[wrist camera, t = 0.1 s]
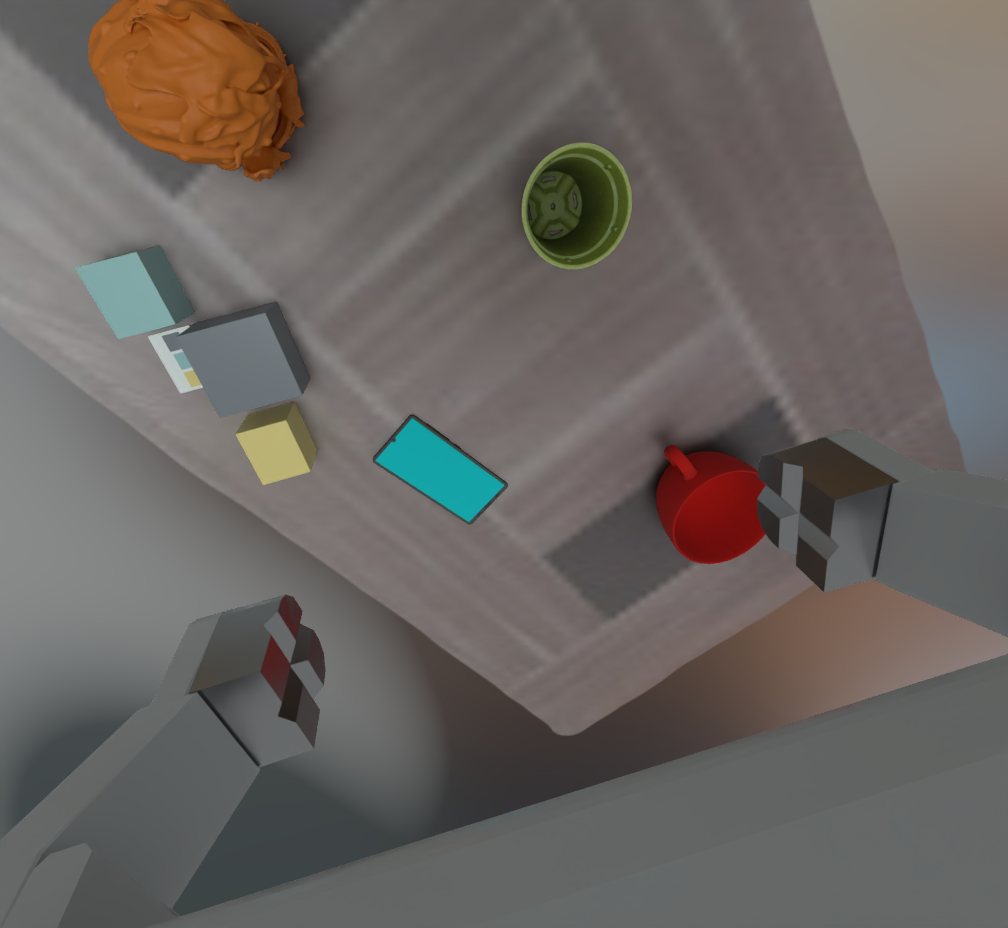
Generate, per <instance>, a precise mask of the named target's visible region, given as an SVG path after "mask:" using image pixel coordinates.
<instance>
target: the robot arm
mask: <svg viewBox="0 0 1008 928" xmlns="http://www.w3.org/2000/svg"><path fill="white" fill-rule="evenodd" d="M758 478H759V479H760V480H761V481H762V482H763V483H764V484H765V485H766V486H765V487H764V489H763V490H762V492H761V493H760V495H759V496H758V498H757V515H758V518H759V521H760V523H761V526H762V529H763V531H764V532H765V534H766V535H767V537H768V538H769V540H770V541H771V542H772V543H773V544H774V545H775V546H776V547H777V548H778V549H780V550H783V551H786V552H789V553H792V554H795V555H796V566H797V567H798V568H799V569H800V570H801V571H802V572H803V573H804V574H805V575H806V576H807V577H808V578H809V579H810V580H811V581H812V582H814V583H815V584H816V585H817V586H818V587H819V588H820V589H821V590H822V591H823V592H828V591H831V590H835V589H838V588H842V587H846V586H849V585H853V584H857V583H860V582H864V581H868V580H871V579H875V578H876V579H875V581H876V582H879V583H881V584H884V585H886V586H888V587H890V588H893V589H895V590H898V591H900V592H902V593H905V594H907V595H909V596H912V597H914V598H916V599H919V600H921V601H924V602H926V603H928V604H931V605H933V606H936V607H938V608H940V609H942V610H945V611H947V612H950V613H952V614H954V615H957V616H959V617H961V618H964V619H966V620H968V621H971V622H973V623H976V624H978V625H980V626H983V627H985V628H987V629H990V630H992V631H994V632H997V633H999V634H1002V635H1004V636H1007V637H1008V480H1004V479H997V478H992V477H986V476H980V475H974V474H968V473H962V472H956V471H950V470H945V469H943V470H939V471H936V472H933V471H931V470H929V469H928V468H926V467H924V466H922V465H920V464H918V463H916V462H915V461H913V460H911V459H909V458H907V457H905V456H903V455H902V454H900V453H898V452H896V451H894V450H892V449H890V448H889V447H887V446H885V445H883V444H881V443H879V442H877V441H876V440H874V439H872V438H870V437H868V436H866V435H864V434H863V433H861V432H859V431H857V430H849V429H845V430H842V431H839V432H836V433H833V434H830V435H826V436H823V437H820V438H818V439H817V440H814V441H811V442H807V443H804V444H801V445H797V446H794V447H790V448H787V449H784V450H780V451H777V452H774V453H770V454H767V455H764V456H762V457H761V459H760V462H759V464H758ZM301 616H302V610H301V608H300V607H299V605H298V603H297V602H296V601H295V599H294V597H291V596H289V595H283V596H279V597H276V598H272V599H268V600H264V601H261V602H257V603H253V604H250V605H246V606H242V607H238V608H235V609H231V610H228V611H226V612H221V613H217V614H214V615H210V616H207V617H203V618H200V619H197V620H196V621H194V622H193V623H191V624H190V625H189V626H188V628H187V630H186V632H185V634H184V636H183V638H182V640H181V642H180V644H179V647H178V649H177V651H176V653H175V655H174V657H173V660H172V661H171V663H170V665H169V667H168V670H167V671H166V674H165V676H164V678H163V680H162V682H161V684H160V686H159V688H158V690H157V692H156V694H155V696H154V699H153V701H152V703H151V705H150V706H149V707H145V708H142V709H139V710H138V711H137V712H136V713H135V714H134V715H133V716H132V717H131V718H130V719H129V720H128V721H126V722H125V723H124V724H123V725H122V726H121V727H120V728H119V729H118V730H117V731H116V732H115V733H114V734H113V735H112V736H111V737H109V738H108V739H107V740H106V741H105V742H104V743H103V744H102V745H101V746H100V747H99V748H98V749H97V750H96V751H95V752H94V753H92V754H91V755H90V756H89V757H88V758H87V759H86V760H85V761H84V762H83V763H82V764H81V765H80V766H79V767H78V768H77V769H76V770H74V771H73V772H72V773H71V774H70V775H69V776H68V777H67V778H66V779H65V780H64V781H63V782H62V783H61V784H60V785H59V786H57V788H55V789H54V790H53V791H52V792H51V793H50V794H49V795H48V796H47V797H46V798H45V799H44V800H43V801H42V802H40V804H39V805H37V806H36V807H35V808H34V809H33V810H32V811H31V812H30V813H29V814H28V815H27V816H26V817H25V818H24V819H23V820H21V822H20V823H18V824H17V825H16V826H15V827H14V828H13V829H12V830H11V831H10V832H9V833H8V834H7V835H6V836H4V837H3V838H2V839H1V840H0V928H1008V654H1007V655H1004V656H1000V657H997V658H994V659H991V660H988V661H985V662H981V663H978V664H975V665H972V666H969V667H966V668H963V669H960V670H956V671H953V672H950V673H947V674H944V675H940V676H937V677H934V678H931V679H928V680H925V681H922V682H918V683H916V684H912V685H909V686H906V687H903V688H900V689H897V690H894V691H890V692H887V693H884V694H881V695H878V696H875V697H871V698H868V699H865V700H862V701H859V702H856V703H853V704H849V705H846V706H843V707H840V708H837V709H834V710H831V711H827V712H824V713H821V714H818V715H815V716H812V717H809V718H806V719H802V720H799V721H796V722H793V723H790V724H787V725H784V726H781V727H777V728H774V729H771V730H768V731H765V732H762V733H759V734H755V735H753V736H749V737H746V738H743V739H740V740H737V741H733V742H730V743H727V744H724V745H721V746H718V747H715V748H712V749H708V750H705V751H702V752H699V753H696V754H693V755H690V756H686V757H683V758H680V759H677V760H674V761H671V762H668V763H664V764H661V765H658V766H655V767H652V768H649V769H645V770H642V771H639V772H636V773H633V774H629V775H626V776H623V777H620V778H617V779H614V780H610V781H608V782H604V783H601V784H598V785H595V786H591V787H588V788H585V789H582V790H579V791H576V792H573V793H570V794H566V795H563V796H560V797H557V798H554V799H550V800H548V801H544V802H541V803H538V804H535V805H532V806H529V807H525V808H522V809H519V810H516V811H512V812H509V813H506V814H503V815H500V816H497V817H494V818H490V819H487V820H484V821H481V822H478V823H474V824H472V825H468V826H465V827H462V828H459V829H456V830H453V831H450V832H446V833H443V834H440V835H437V836H434V837H430V838H427V839H424V840H421V841H418V842H415V843H411V844H408V845H405V846H402V847H399V848H396V849H393V850H390V851H386V852H383V853H380V854H377V855H374V856H370V857H367V858H364V859H361V860H358V861H355V862H352V863H348V864H345V865H342V866H340V867H336V868H333V869H329V870H327V871H323V872H320V873H317V874H314V875H311V876H308V877H305V878H301V879H298V880H295V881H292V882H288V883H286V884H282V885H279V886H276V887H273V888H270V889H267V890H263V891H260V892H257V893H254V894H251V895H248V896H245V897H241V898H238V899H235V900H232V901H229V902H225V903H222V904H219V905H216V906H213V907H210V908H207V909H203V910H200V911H197V912H194V913H191V914H188V915H184V916H182V917H181V916H179V915H178V914H177V913H175V912H174V911H172V907H173V906H174V904H175V903H176V901H177V899H178V898H179V896H180V895H181V893H182V892H183V890H184V889H185V887H186V885H187V884H188V882H189V881H190V879H191V878H192V876H193V874H194V873H195V871H196V870H197V868H198V867H199V865H200V863H201V862H202V860H203V859H204V857H205V856H206V854H207V853H208V851H209V849H210V848H211V846H212V845H213V843H214V841H215V840H216V838H217V837H218V835H219V834H220V832H221V831H222V829H223V828H224V826H225V824H226V823H227V821H228V820H229V818H230V816H231V815H232V813H233V812H234V810H235V809H236V807H237V806H238V804H239V802H240V801H241V799H242V798H243V796H244V794H245V793H246V791H247V790H248V788H249V787H250V785H251V784H252V782H253V781H254V779H255V777H256V776H257V774H258V773H259V771H260V769H259V768H258V767H261V766H264V765H267V764H270V763H273V762H276V761H279V760H282V759H285V758H288V757H291V756H294V755H297V754H300V753H303V752H306V751H309V750H312V749H314V745H315V739H316V732H317V725H318V720H319V713H320V709H319V708H318V706H317V705H316V703H315V702H314V700H313V699H314V698H315V697H316V695H317V694H318V693H319V691H320V690H321V689H322V687H323V686H324V678H325V662H324V653H323V650H322V647H321V644H320V641H319V639H318V637H317V635H316V634H315V632H314V630H312V629H310V628H308V627H306V626H304V625H302V624H300V620H301Z"/></svg>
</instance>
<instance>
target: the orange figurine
mask: <svg viewBox="0 0 1008 928" xmlns="http://www.w3.org/2000/svg"><path fill="white" fill-rule="evenodd" d="M259 40H260V41H261V42H263V43H264V44H266V45H267V46H268V48H269V49H270V50H271V52H272V53H271V52H270V51H269V49H268V48H267V47H265V46H264V45H263V44H262V43H260V42H259ZM267 54H268V56H267ZM88 55H89V62H90V66H91V68H92V70H93V72H94V74H95V76H96V78H97V79H98V81H99V83H100V84H101V86H102V88H103V90H104V92H105V94H106V103H107V105H108V107H109V108H110V110H111V111H113V112H114V113H115V115H116V118H117V120H118V122H119V123H120V125H121V126H122V127H123V128H124V130H125V131H127V132H128V133H129V134H130V135H131V136H133V137H134V138H136V139H137V140H139V141H140V142H142V143H143V144H145V145H146V146H148V147H150V148H152V149H155V150H157V151H161V152H164V153H168V154H172V155H174V156H175V157H177V158H178V159H180V160H182V161H185V162H191V163H199V164H216V165H217V166H218V167H220V168H222V169H225V170H228V171H232V170H236V169H237V168H240V166H241V164H242V166H243V167H244V175H245V176H246V177H250V178H251V179H253V180H255V181H257V182H258V181H261V180H262V179H263V178H268V179H271V177H272V175H274V174H275V172H276V170H277V169H280V168H282V169H284V165H283V164H282V163H280V162H284V161H285V160H287V159H290V158H291V156H290V153H289V152H281V151H280V150H279V149H280V148H281V147H282V145H283V144H284V145H285V142H287V141H288V140H289V139H290V137H291V135H292V133H293V132H294V130H295V127H299V128H302V127H304V126H305V125H304V123H303V122H302V121H301V120H299V118H300V117H302V116H303V115H304V112H303V110H302V107H301V101H300V98H299V96H298V93H297V91H298V80H297V77H296V75H295V72H294V65H293V64H291V65H289V66H287V65H286V61H285V58H284V57H285V56H286V55H287V54H283V52H282V50H281V48H280V46H279V44H278V43H277V39H275V38H274V37H273V36H272V35H271V34H270V33H269V32H267V31H266V30H264V29H263V28H261V27H260V26H258V22H257V23H256V24H253V23H250V22H246V21H243V20H242V19H241V18H240V17H238V16H237V15H236V14H235V13H234V12H233V11H232V10H231V8H230V6H229V5H228V4H227V3H225V2H224V1H222V0H119V1H118V2H117V3H116V4H114V5H113V6H112V8H111V9H110V10H109V11H108V12H107V13H106V14H105V15H104V16H103V17H102V18H101V19H100V20H99V21H98V22H97V23H96V24H95V26H94V27H93V28H92V31H91V34H90V37H89V52H88ZM277 67H278V68H277Z"/></svg>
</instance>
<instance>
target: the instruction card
mask: <svg viewBox="0 0 1008 928" xmlns="http://www.w3.org/2000/svg"><path fill="white" fill-rule="evenodd" d="M189 327H190V325H187V326H184V327H180V328H176V329H172V330H169V331H165V332H161V333H157V334H154V335H150V336H148V338H149V340H150V341H151V343H152V345H153V347H154V348H155V350H156V352H157V354H158V355H159V357H160V359H161V361H162V362H163V364H164V366H165V367H166V369H167V371H168V373H169V374H170V376H171V378H172V380H173V381H174V383H175V385H176V386H177V388H178V390H179V392H180V393H185V392H188V391H192V390H196V389H199V388H203V386H202V385H201V383H200V381H199V379H198V377H197V375H196V374H195V372H194V370H193V368H192V366H191V365H190V363H189V361H188V359H187V357H186V356H185V354H184V352H183V350H182V348H181V346H180V345H179V343H178V341H177V339H176V336H177V335H179V334H180V333H182V332H183V331H185V330H186V329H188V328H189Z"/></svg>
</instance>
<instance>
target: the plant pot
mask: <svg viewBox="0 0 1008 928" xmlns="http://www.w3.org/2000/svg"><path fill="white" fill-rule="evenodd" d="M551 176H552V177H555V180H554V181H547V182H545V183H542V182H541V181H542V179H543V178H545V177H551ZM573 193H575V194H576V198H577V202H578V205H577V208H576V209H575V208H574V198H573ZM551 204H555V209H553V210H552V209H551ZM527 205H529V206H530V214H531V218H532V219H531V220H530V219H529V218H528V215H527ZM631 210H632V193H631V187H630V183H629V180H628V176H627V174H626V172H625V170H624V168H623V166H622V165H621V163H620V162H619V161H618V160H617V158H616V157H615V156H614V155H613V154H611V153H610V152H609V151H608V150H606V149H604V148H602V147H600V146H598V145H595V144H591V143H573V144H569V145H565V146H563V147H560V148H558V149H557V150H555V151H553V152H552V153H550V154H549V155H547V156H546V157H545V158H544V159H543V160H542V161H541V162H540V163H539V164H538V165H537V166H536V168H535V169H534V170H533V172H532V174H531V175H530V177H529V179H528V181H527V184H526V186H525V189H524V193H523V197H522V203H521V216H522V223H523V228H524V231H525V234H526V236H527V239H528V241H529V243H530V244H531V246H532V247H533V249H534V250H535V251H536V252H537V254H538V255H539V256H540V257H542V258H543V259H544V260H545V261H547V262H548V263H550V264H552V265H554V266H556V267H559V268H564V269H582V268H586V267H589V266H592V265H594V264H596V263H598V262H600V261H601V260H603V259H604V258H605V257H606V256H608V255H609V254H610V253H611V252H612V251H613V250H614V249H615V248H616V246H617V245H618V244H619V242H620V241H621V239H622V237H623V236H624V233H625V231H626V229H627V226H628V223H629V220H630V216H631ZM561 229H562V231H561V232H560V233H558V234H556V235H550V234H549V232H550V231H556V230H561Z"/></svg>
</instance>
